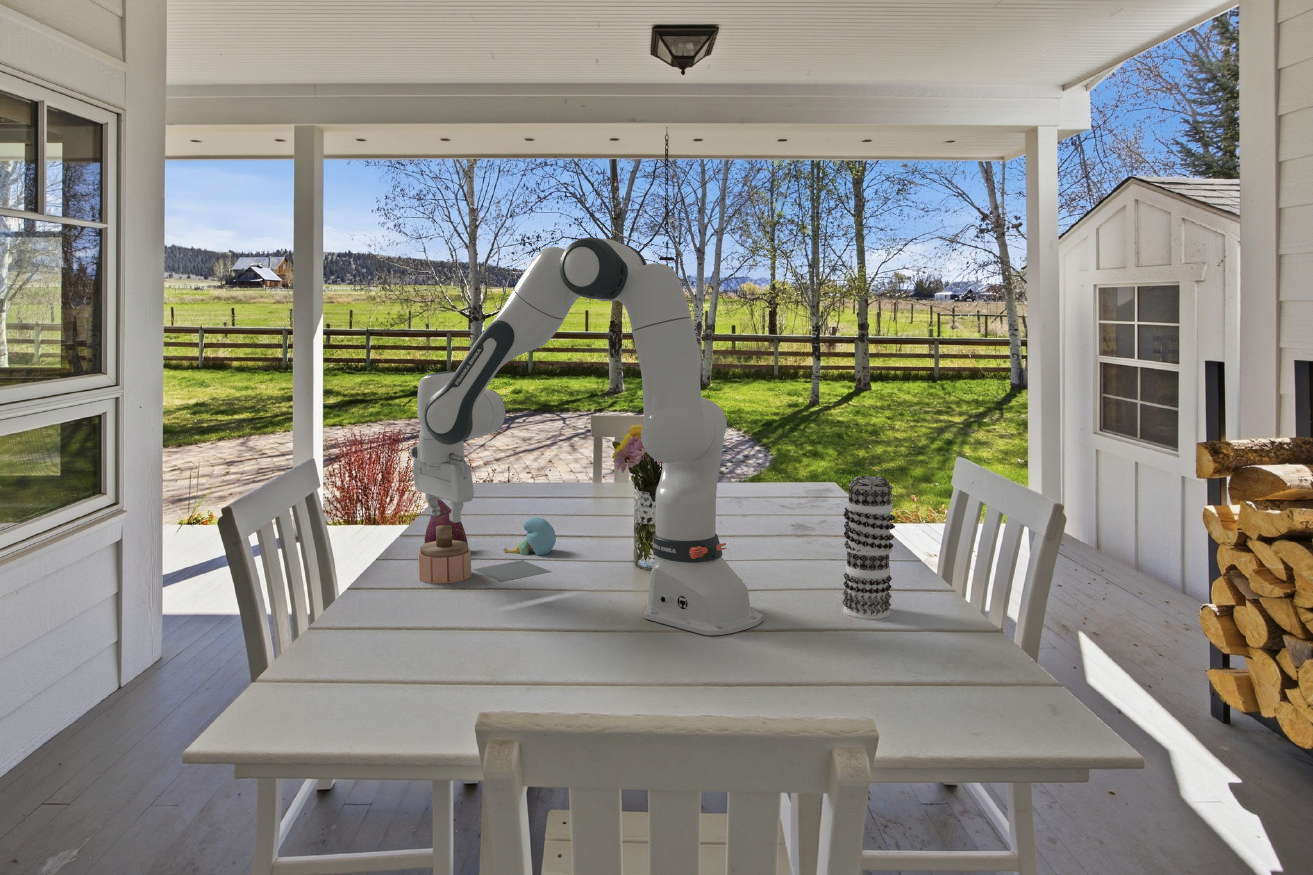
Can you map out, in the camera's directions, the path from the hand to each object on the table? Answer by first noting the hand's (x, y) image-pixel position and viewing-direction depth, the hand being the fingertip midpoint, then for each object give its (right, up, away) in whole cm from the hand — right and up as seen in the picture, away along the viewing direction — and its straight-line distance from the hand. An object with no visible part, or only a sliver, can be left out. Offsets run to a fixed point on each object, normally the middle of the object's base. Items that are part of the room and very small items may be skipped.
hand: (444, 518), depth 183 cm
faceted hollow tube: (0, -13, +2) cm, 13 cm away
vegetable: (-5, -11, +23) cm, 26 cm away
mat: (+13, -12, +6) cm, 19 cm away
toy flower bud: (+14, -11, +21) cm, 28 cm away
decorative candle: (+82, -16, -19) cm, 86 cm away
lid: (0, -7, +1) cm, 7 cm away
